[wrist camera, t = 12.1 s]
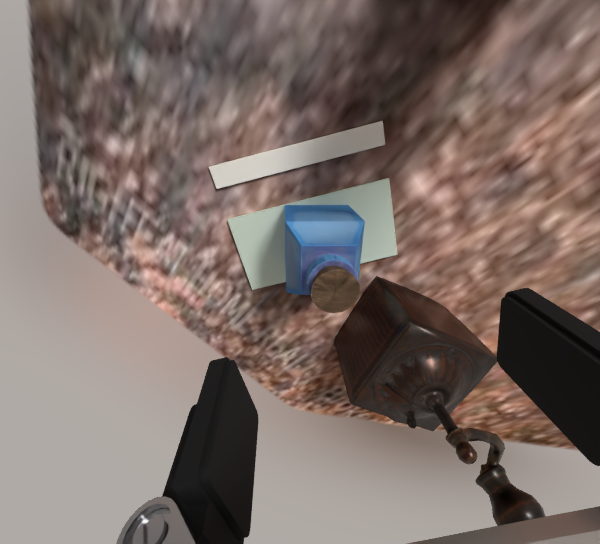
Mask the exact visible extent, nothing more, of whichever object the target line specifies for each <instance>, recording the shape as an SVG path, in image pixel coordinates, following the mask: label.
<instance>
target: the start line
mask: <svg viewBox="0 0 600 544" xmlns="http://www.w3.org/2000/svg"><path fill="white" fill-rule="evenodd" d="M382 145H385V138H384V128H383V121H379V122H375V123H372V124H368V125H364V126H360V127H357V128H353V129H349V130H345V131H342V132H338V133H334V134H330V135H327V136H323V137H319V138H315V139H312V140H308V141H304V142H300V143H297V144H293V145H289V146H285V147H282V148H278V149H274V150H270V151H267V152H263V153H259V154H255V155H252V156H248V157H244V158H240V159H237V160H233V161H229V162H225V163H222V164H218V165H214V166H210V167H209V169H210V172H211V174H212V177H213V180H214V183H215V186H216V189H219V188H222V187H226V186H230V185H234V184H238V183H241V182H245V181H249V180H253V179H257V178H261V177H264V176H268V175H272V174H276V173H280V172H283V171H287V170H291V169H295V168H299V167H302V166H306V165H310V164H314V163H318V162H322V161H325V160H329V159H333V158H337V157H341V156H344V155H348V154H352V153H356V152H360V151H363V150H367V149H371V148H375V147H379V146H382Z"/></svg>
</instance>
